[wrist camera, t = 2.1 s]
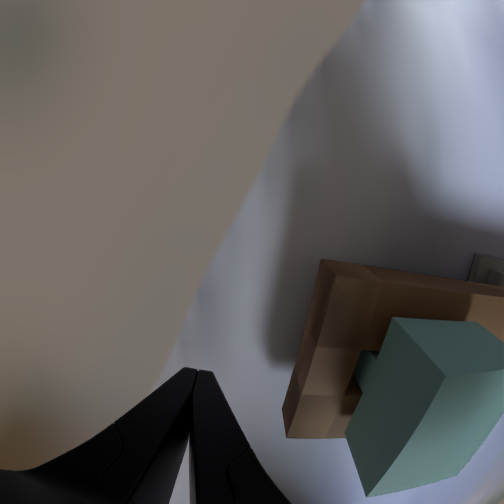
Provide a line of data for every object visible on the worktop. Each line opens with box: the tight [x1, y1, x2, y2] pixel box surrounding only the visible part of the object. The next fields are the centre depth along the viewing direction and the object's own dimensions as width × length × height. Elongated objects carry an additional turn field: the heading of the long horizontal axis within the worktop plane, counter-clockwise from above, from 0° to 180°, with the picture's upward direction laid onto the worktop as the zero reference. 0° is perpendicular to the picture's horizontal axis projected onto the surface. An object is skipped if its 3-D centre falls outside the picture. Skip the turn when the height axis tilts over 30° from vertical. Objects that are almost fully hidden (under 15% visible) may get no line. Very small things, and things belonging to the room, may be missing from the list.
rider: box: [344, 317, 504, 497], centre depth 9 cm, size 5×4×5 cm
